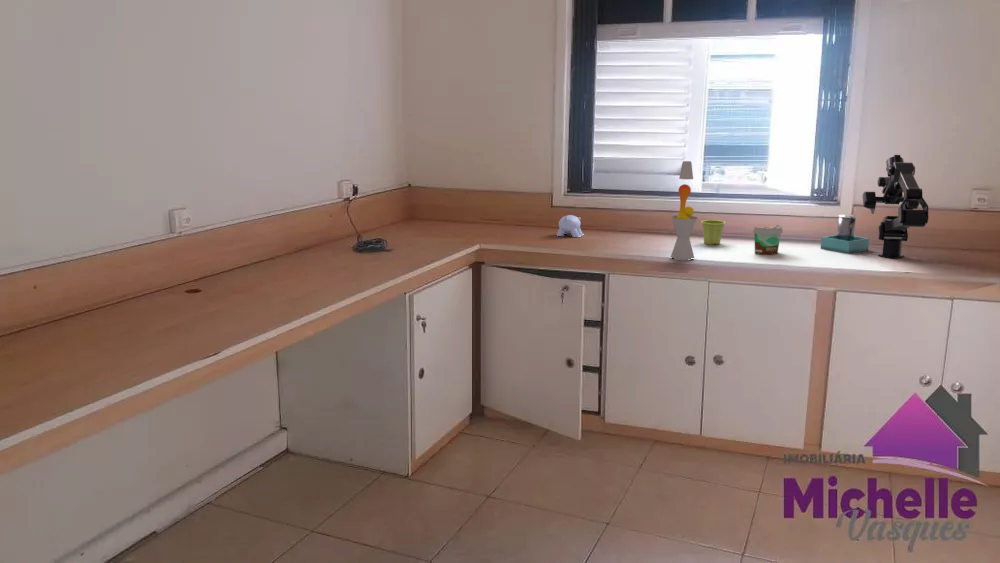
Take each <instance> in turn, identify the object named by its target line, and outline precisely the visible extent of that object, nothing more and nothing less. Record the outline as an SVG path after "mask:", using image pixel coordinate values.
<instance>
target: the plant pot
mask: <svg viewBox="0 0 1000 563" xmlns="http://www.w3.org/2000/svg"><path fill="white" fill-rule="evenodd" d="M700 223H701V225H702V226H701V227H702V233H703V234H702V235H703V243H704V244H706V245H714V244H715V245H719V244H721V238H722V234H723V229H724V227H725V224H726V221H724V220H718V219H705V220H701V221H700Z"/></svg>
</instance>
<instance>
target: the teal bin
mask: <svg viewBox="0 0 1000 563" xmlns="http://www.w3.org/2000/svg"><path fill="white" fill-rule="evenodd" d="M820 240H821V242H820V249H821V250H826V251H832V252H836V253H837V252H838V253H843V254H848V255H849V254H854V253H860V252H865V251H869V244H870V243H869V242H870V238H867V237H862V236H855V235H854V240H853V241H845V240H839V239H837V234H834V235H833V234H832V235H828V236H827V235H826V236H821V239H820Z"/></svg>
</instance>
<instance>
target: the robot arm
mask: <svg viewBox="0 0 1000 563" xmlns="http://www.w3.org/2000/svg"><path fill="white" fill-rule="evenodd" d="M885 163H886V164H885V165H886V169H885V171H886V173H887V176H885V177H884V176H879V177H878V179H877V187H880V188H882V190H881V193H882V194H883V196H876V194H877V193H876V191H864V192H863V194H862V204H863V205H862V206H863V207H864V208H866V209H868V210H870V212H871V215H873V214H874V213H875V211H876V206H877V204H885V205H899V207H898V211H897V215H886V216H885V217H883V219H882V221H881V222H880V223H879V225H878V240H880V241H883V245H882V252H881V253H879V254H878V255H877V256H879V257H882V258H883V257H884V258H890V259H899V258H900V259H901V258H904V257H905V255H903V254H902V245H903V242H907V241H908V239H909V238H908V237H909V233H908V229H909V228H911V227H912V228H924V227H926V225H927V224H928V222H929V205H928V203H927V202H926V200H925V199H924V198H923V189H922V188H920V186H919V185H918V183H917V180H916V178H915V173H916V166H915V165H914V163H913V162H905V160H904V158H903V157H901V154H893V156H891V157H889V158H888V159H886V161H885ZM900 203H901V204H900ZM919 206H920V207H921V209H918V208H919Z"/></svg>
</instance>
